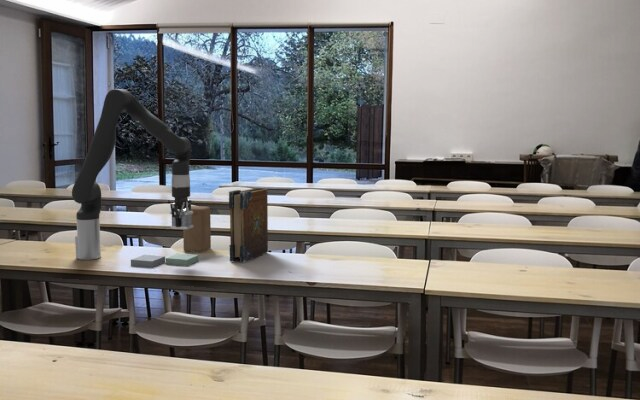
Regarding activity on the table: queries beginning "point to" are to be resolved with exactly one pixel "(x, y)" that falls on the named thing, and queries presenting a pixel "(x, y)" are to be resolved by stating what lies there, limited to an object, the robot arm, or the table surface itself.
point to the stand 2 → (182, 259)
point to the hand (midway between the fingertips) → (181, 225)
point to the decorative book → (248, 224)
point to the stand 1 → (147, 261)
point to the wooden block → (198, 230)
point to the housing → (183, 220)
